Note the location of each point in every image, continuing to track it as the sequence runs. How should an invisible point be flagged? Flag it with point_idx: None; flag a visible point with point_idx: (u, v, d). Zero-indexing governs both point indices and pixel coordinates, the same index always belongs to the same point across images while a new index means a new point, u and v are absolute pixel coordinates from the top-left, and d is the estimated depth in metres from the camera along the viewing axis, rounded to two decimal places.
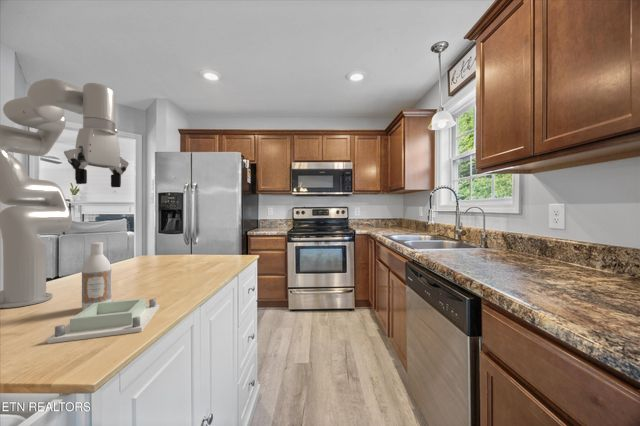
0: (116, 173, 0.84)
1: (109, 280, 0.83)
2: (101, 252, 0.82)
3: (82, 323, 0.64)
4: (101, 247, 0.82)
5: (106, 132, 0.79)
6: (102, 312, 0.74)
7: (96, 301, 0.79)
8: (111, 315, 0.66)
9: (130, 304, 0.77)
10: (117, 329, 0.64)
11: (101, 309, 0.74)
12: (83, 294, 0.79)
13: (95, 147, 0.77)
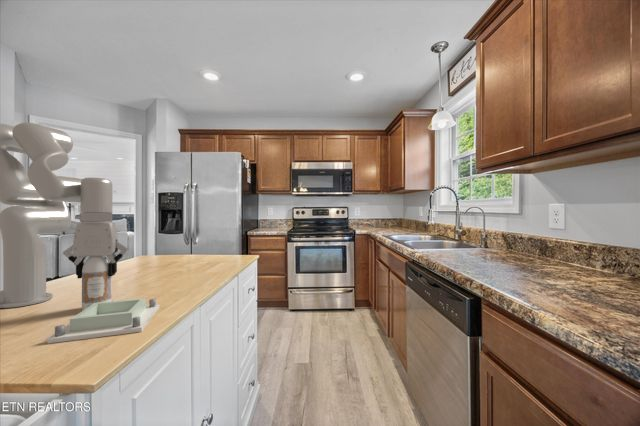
0: (83, 262, 0.82)
1: (109, 280, 0.83)
2: None
3: (82, 323, 0.64)
4: None
5: None
6: (102, 312, 0.74)
7: (96, 301, 0.79)
8: (111, 315, 0.66)
9: (130, 304, 0.77)
10: (117, 329, 0.64)
11: (101, 309, 0.74)
12: (83, 294, 0.79)
13: None
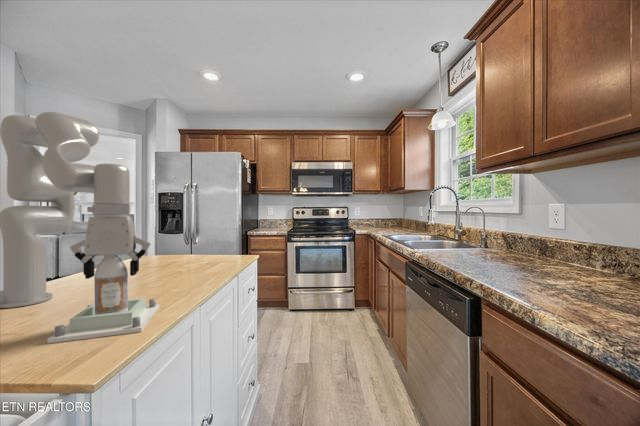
0: (91, 260, 0.70)
1: (126, 286, 0.72)
2: None
3: (82, 323, 0.64)
4: None
5: None
6: None
7: (112, 311, 0.68)
8: (111, 315, 0.66)
9: (130, 304, 0.77)
10: (117, 329, 0.64)
11: None
12: (96, 303, 0.68)
13: None
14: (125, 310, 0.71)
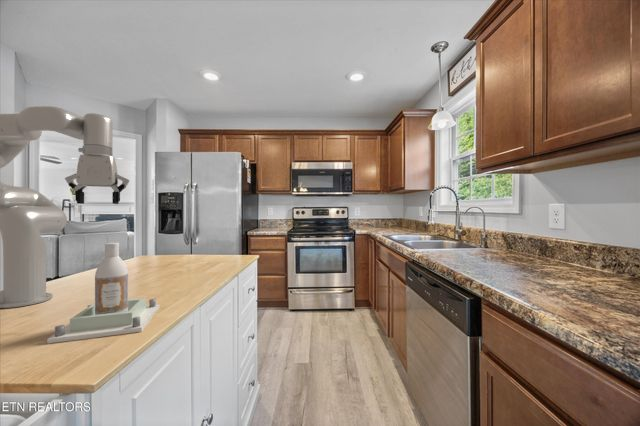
0: (81, 190, 0.89)
1: (126, 286, 0.72)
2: (117, 254, 0.71)
3: (82, 323, 0.64)
4: (117, 248, 0.71)
5: None
6: None
7: (112, 311, 0.68)
8: (111, 315, 0.66)
9: (130, 304, 0.77)
10: (117, 329, 0.64)
11: None
12: (97, 303, 0.68)
13: None
14: (125, 310, 0.71)
